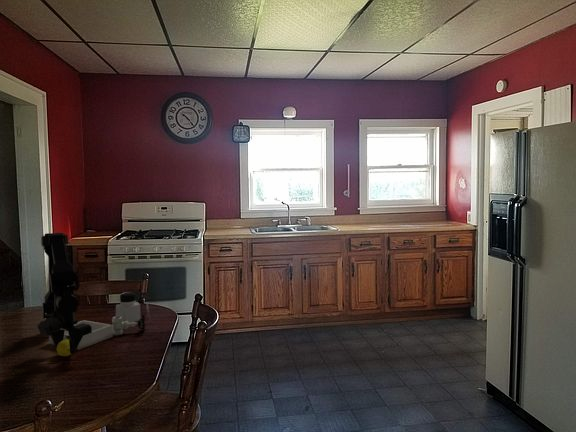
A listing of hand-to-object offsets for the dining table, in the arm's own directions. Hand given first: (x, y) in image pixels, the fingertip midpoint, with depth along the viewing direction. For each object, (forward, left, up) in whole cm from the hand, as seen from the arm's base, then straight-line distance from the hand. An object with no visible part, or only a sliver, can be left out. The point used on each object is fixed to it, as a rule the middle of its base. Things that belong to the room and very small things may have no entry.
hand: (65, 352), depth 145 cm
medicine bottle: (-10, +38, -1) cm, 39 cm away
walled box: (-8, +13, -1) cm, 15 cm away
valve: (+1, +26, -1) cm, 27 cm away
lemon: (0, 0, -1) cm, 1 cm away
